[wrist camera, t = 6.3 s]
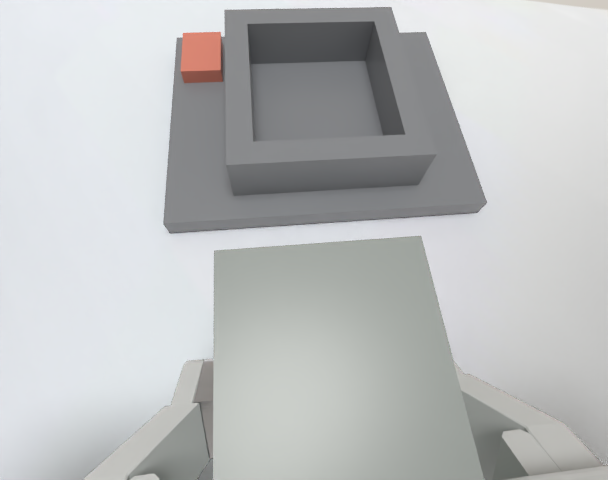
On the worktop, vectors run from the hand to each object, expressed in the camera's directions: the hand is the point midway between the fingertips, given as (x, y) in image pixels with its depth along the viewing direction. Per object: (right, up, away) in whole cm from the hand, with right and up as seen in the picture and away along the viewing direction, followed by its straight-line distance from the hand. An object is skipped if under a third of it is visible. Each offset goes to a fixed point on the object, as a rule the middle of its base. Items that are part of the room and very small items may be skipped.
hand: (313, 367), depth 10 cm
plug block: (0, -3, +5) cm, 5 cm away
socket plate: (0, +10, +11) cm, 15 cm away
